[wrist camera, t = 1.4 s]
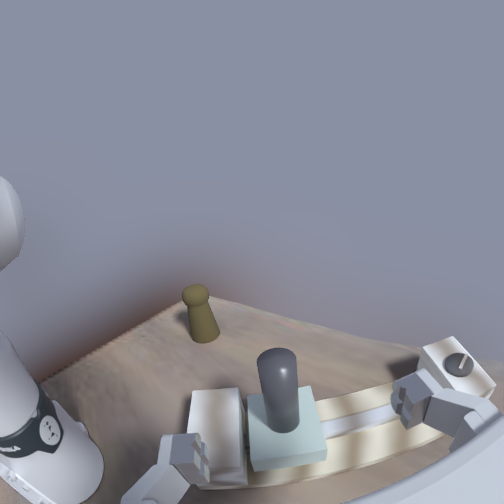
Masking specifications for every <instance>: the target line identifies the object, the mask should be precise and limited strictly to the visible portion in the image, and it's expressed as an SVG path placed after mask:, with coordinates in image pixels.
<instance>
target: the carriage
mask: <svg viewBox="0 0 504 504" xmlns="http://www.w3.org/2000/svg"><path fill="white" fill-rule="evenodd" d="M257 367H258V372H259V378H260V383H261V389H262V394H254V395H247V401H248V422H249V441H250V460H251V463H252V466H253V469H254V472H256V471H265V470H274V469H281V468H288V467H295V466H301V465H306V464H311V463H316V462H321V461H326V458H327V450H328V448H327V445H326V441H325V437H324V434H323V430H322V426H321V423H320V419H319V416H318V412H317V408H316V405H315V401H314V398H313V394H312V391H311V387H310V386H306V387H301V388H298V379H297V363H296V356H295V354H294V353H293V352H292V351H290V350H288V349H285V348H272V349H269V350H266V351H264V352H263V353H262V354H260V356H259V357H258V359H257Z"/></svg>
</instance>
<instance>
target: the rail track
mask: <svg viewBox="0 0 504 504" xmlns="http://www.w3.org/2000/svg"><path fill="white" fill-rule="evenodd" d="M422 368H424V369H426V370H427V371H428V372H429V373H430V375H431V376H432V377H433V378H434V379H435V380H436V381H437V382H438V383H439V384H440V386H441V387H442V388H443V389H445V388H449V389H452V390H456V391H460V392H463V393H467V394H471V395H475V396H479V397H483V398H487V399H489V398H490V396H491V394H492V392H493V391H494V389H495V387H496V384H495V383H494V382H493V380H492V379H491V378H490V377H489V376H488V375H487V373H486V372H485V371H484V370H483V369H482V368H481V366H480V365H479V364H478V363H477V362H476V361H475V360H474V359H473V357H472V356H471V355H470V354H469V353H468V352H467V351H466V350H465V349H464V348H463V346H461V345H460V343H459V342H458V341H457V340H456V339H455V338H454V337H453V336H452V337H449V338H446V339H444V340H441V341H438V342H436V343H433V344H430V345H427V346H424V347H422V351H421V354H420V358H419V362H418V365H417V369H416V371H418V370H420V369H422ZM393 382H394V381H393ZM393 382H389V383H386V384H383V385H380V386H376V387H373V388H369V389H366V390H362V391H358V392H354V393H350V394H346V395H342V396H338V397H334V398H329V399H325V400H320V401H315V405H316V408H317V412H318V416H319V419H320V423H321V426H322V430H323V434H324V437H325V441H326V445H327V448H328V450H327V458H326V461H321V462H316V463H311V464H306V465H301V466H295V467H288V468H281V469H274V470H265V471H256V472H254V469H253V466H252V463H251V460H250V441H249V422H248V412H245V410H244V407H243V403H242V399H241V395H240V392H239V388H238V387H235V388H225V389H213V390H198V391H193V393H192V400H191V407H190V414H189V421H188V428H187V433H199V434H200V436H201V441H202V442H204V443H205V444H206V446H207V448H208V452H209V463H208V465H207V468H208V469H209V483H202V484H196V485H197V487H198V488H199V489H206V490H214V489H243V488H256V487H267V486H275V485H283V484H290V483H296V482H302V481H308V480H313V479H318V478H323V477H327V476H332V475H336V474H340V473H344V472H348V471H351V470H355V469H359V468H362V467H365V466H369V465H372V464H375V463H378V462H381V461H384V460H387V459H390V458H392V457H395V456H398V455H400V454H403V453H405V452H408V451H410V450H413V449H415V448H418V447H420V446H422V445H425V444H427V443H429V442H431V441H433V440H435V439H438V438H440V437H442V436H444V435H446V434H445V433H443V432H440V431H438V430H436V429H434V428H432V427H430V426H428V425H426V424H423V423H421V424H419V425H417V426H414V427H412V428H410V429H408V430H406V429H405V427H404V426H403V424H402V423H401V421H400V417H401V415H399V414H396V413H395V412H394V410H393V408H392V406H391V401H390V397H391V394H392V392H393V391H394V390H393V389H392V383H393Z"/></svg>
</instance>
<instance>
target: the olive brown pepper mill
mask: <svg viewBox="0 0 504 504" xmlns="http://www.w3.org/2000/svg"><path fill="white" fill-rule="evenodd" d="M182 299H183V302H184V303H185V305H187V308H188V315H189V323H190V330H191V336H192V340H193V341H195V342H197V343H208V342H211V341H213V340H215V339H216V338H217V337H218V336H219V334H220V330H219V328H218V325H217V323H216V320H215V318H214V316H213V313H212V311H211V308H210V306H209V303H208V299H209V293H208V290H207V288H206V287H205V286H204V285H201V284H194V285H190V286H188V287H187V288H185V289H184V290H183V292H182Z"/></svg>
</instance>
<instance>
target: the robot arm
mask: <svg viewBox="0 0 504 504" xmlns="http://www.w3.org/2000/svg"><path fill="white" fill-rule="evenodd" d="M24 233H25V219H24V212H23V208H22V204H21V201H20V199H19V197H18V195H17V193H16V191H15V190H14V188H13V187H12V186H11V184H10V183H9V182H8V181H7V180H5V179H4V178H3V177H1V176H0V271H1V270H3V269H4V268H5V267H6V266H7V265H8V264H10V263H11V262H12V261H13V260H14V259H15V258H16V257H18V256H19V254H20V251H21V248H22V244H23V240H24ZM392 389H393V390H394V391H393V392H392V394H391V397H390V401H391V406H392V408H393V410H394V412H395V413H396V414H399V415H401V417H400V421H401V423H402V424H403V426H404V427H405V429H406V430H408V429H410V428H412V427H414V426H417V425H419V424H421V423H423V424H426V425H428V426H430V427H432V428H434V429H436V430H438V431H440V432H443V433H445V434H447V435H449V436H451V437H454V439H453V441H452V443H451V445H450V447H449V450H450V452H451V453H450V454H448V455H446V456H445V457H443V458H441V459H440V460H438V461H436V462H434V463H433V464H431V465H429V466H427V467H425V468H424V469H422V470H420V471H418V472H416V473H414V474H412V475H410V476H408V477H406V478H404V479H402V480H400V481H398V482H395V483H393V484H391V485H389V486H386V487H384V488H382V489H379V490H377V491H374V492H372V493H369V494H367V495H364V496H361V497H358V498H356V499H353V500H350V501H347V502H344V503H341V504H504V414H502V413H501V412H500V411H499V410H498V409H497V408H496V407H495V406H494V405H493V404H492V403H491V401H490V400H489V399H487V398H483V397H479V396H475V395H471V394H467V393H463V392H460V391H456V390H452V389H449V388H445V389H443V388H442V387H441V386H440V384H439V383H438V382H437V381H436V380H435V379H434V378H433V377H432V376H431V375H430V373H429V372H428V371H427V370H426V369H424V368H422V369H420V370H418V371H416V372H414V373H411V374H409V375H407V376H405V377H402V378H400V379H398V380H396V381H394V382H393V383H392ZM208 463H209V452H208V448H207V446H206V444H205V443H204V442H202V441H201V436H200V434H199V433H185V434H168V435H163V436H162V437H161V441H160V447H159V453H158V459H157V465H153V466H152V467H151V468H150V469H149V470H148V471H147V472H146V473H145V474H144V475H143V476H142V477H141V478H140V479H139V480H138V481H137V482H136V483H135V484H134V485H133V486H132V487H131V488H130V489H129V490H128V491H127V492H126V493H125V494H124V495H123V496H122V498H121V503H120V504H178V503H179V501H180V500H181V498H182V497H183V495H184V494H185V492H186V491H187V490H188V488H189V487H190V484H202V483H209V469H208V468H207V465H208ZM103 470H104V463H103V457H102V454H101V452H100V450H99V448H98V447H97V445H96V444H95V443H94V442H93V441H92V440H91V439H90V438H89V435H88V431H87V429H86V427H85V426H84V425H83V424H82V423H81V422H75V421H74V420H73V419H72V418H71V417H70V416H69V415H68V414H67V413H66V411H65V410H64V409H63V408H62V407H61V406H60V405H59V404H58V403H57V402H56V401H54V400H53V401H52V400H50V398H49V396H48V394H47V393H46V391H45V390H44V389H43V388H42V387H41V386H40V384H39V383H38V382H37V381H35V380H34V379H32V377H31V376H30V374H29V372H28V371H27V369H26V368H25V366H24V364H23V363H22V361H21V359H20V358H19V356H18V354H17V352H16V350H15V349H14V347H13V345H12V343H11V341H10V340H9V338H8V337H7V336H6V335H5V334H4V333H3V332H1V331H0V476H1V477H2V478H3V479H4V480H5V481H6V482H7V483H8V484H9V485H10V486H12V487H13V488H14V489H15V490H16V491H17V492H19V493H20V494H21V495H22V496H23V497H25V498H26V499H27V500H28V501H30V502H31V503H32V504H79V503H81V502H83V501H85V500H86V499H88V498H89V497H90V496H91V495H92V494H93V493H94V492H95V491H96V489H97V488H98V486H99V484H100V482H101V479H102V476H103Z"/></svg>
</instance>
